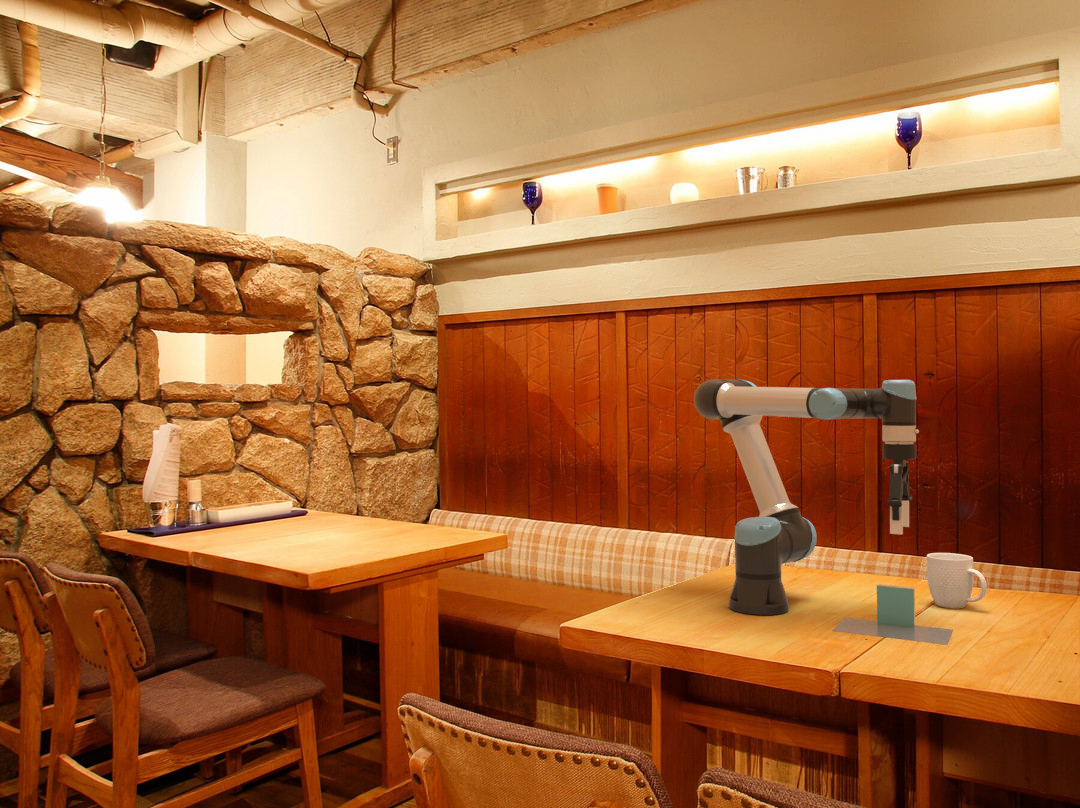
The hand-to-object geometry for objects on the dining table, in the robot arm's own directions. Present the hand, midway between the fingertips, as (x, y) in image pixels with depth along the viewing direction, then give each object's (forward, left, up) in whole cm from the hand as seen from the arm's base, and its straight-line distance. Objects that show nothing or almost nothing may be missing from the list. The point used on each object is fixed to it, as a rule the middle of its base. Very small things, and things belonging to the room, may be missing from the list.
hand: (899, 530), depth 199 cm
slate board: (0, -13, -22) cm, 26 cm away
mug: (+10, +23, -23) cm, 34 cm away
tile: (0, -7, -21) cm, 23 cm away
